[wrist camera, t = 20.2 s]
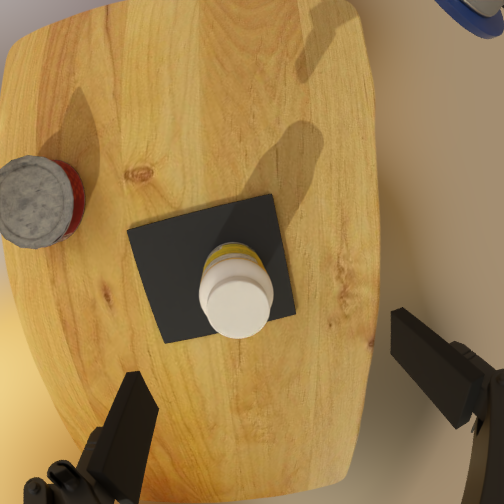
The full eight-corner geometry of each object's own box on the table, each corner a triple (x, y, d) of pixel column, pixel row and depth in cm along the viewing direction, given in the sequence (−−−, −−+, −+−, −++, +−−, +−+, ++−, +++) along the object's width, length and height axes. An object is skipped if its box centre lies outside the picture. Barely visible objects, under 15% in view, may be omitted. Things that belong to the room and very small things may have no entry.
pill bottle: (255, 299, 33) (270, 352, 22) (200, 291, 32) (191, 342, 21) (267, 246, 32) (289, 278, 21) (209, 236, 31) (201, 264, 20)
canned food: (69, 160, 32) (58, 121, 23) (100, 223, 33) (95, 200, 24) (1, 204, 27) (-28, 177, 18) (30, 271, 28) (1, 263, 19)
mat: (271, 193, 31) (272, 193, 30) (295, 312, 34) (296, 314, 34) (128, 229, 30) (126, 230, 30) (165, 341, 34) (164, 343, 33)
